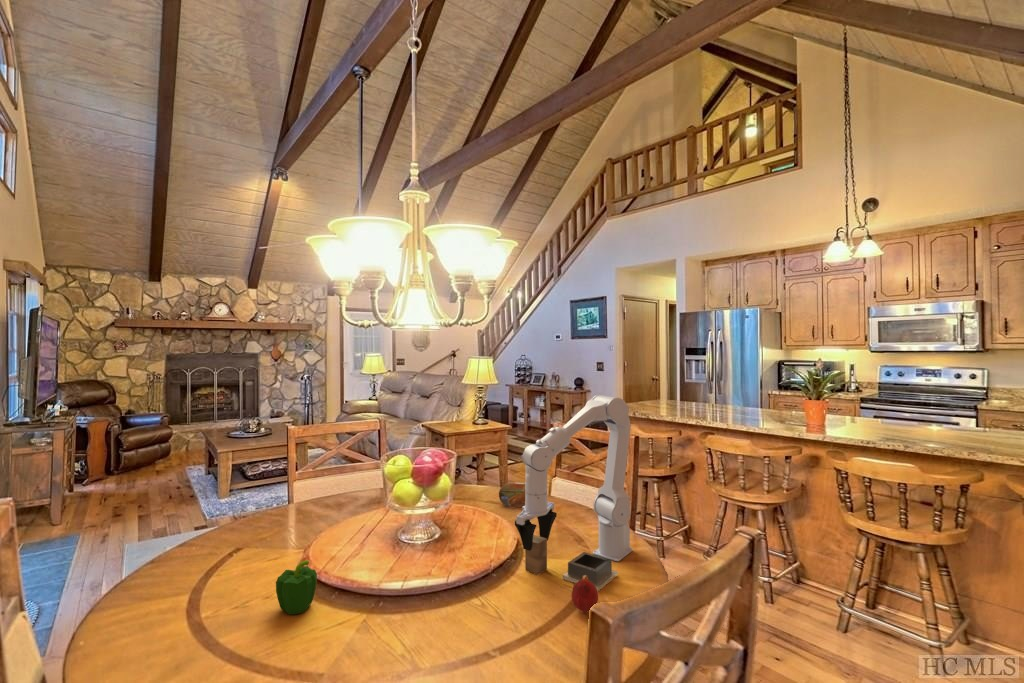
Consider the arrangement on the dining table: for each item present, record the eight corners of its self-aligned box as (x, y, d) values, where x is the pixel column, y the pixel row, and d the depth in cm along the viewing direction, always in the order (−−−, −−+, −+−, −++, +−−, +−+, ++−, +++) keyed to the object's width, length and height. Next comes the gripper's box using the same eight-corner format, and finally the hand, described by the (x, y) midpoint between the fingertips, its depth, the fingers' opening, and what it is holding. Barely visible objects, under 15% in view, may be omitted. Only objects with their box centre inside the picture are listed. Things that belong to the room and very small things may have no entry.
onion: (597, 621, 105) (597, 583, 105) (570, 618, 106) (570, 581, 106) (598, 607, 111) (598, 571, 111) (572, 604, 112) (572, 568, 112)
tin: (498, 506, 178) (498, 482, 178) (500, 503, 181) (500, 480, 181) (540, 508, 175) (540, 485, 175) (541, 505, 178) (541, 482, 178)
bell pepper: (276, 623, 104) (276, 575, 104) (275, 604, 111) (275, 560, 111) (319, 613, 108) (319, 567, 108) (315, 595, 115) (315, 553, 115)
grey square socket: (582, 564, 132) (582, 549, 132) (617, 575, 125) (617, 559, 125) (562, 578, 124) (562, 562, 124) (598, 591, 118) (598, 574, 118)
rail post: (534, 565, 131) (534, 534, 131) (546, 569, 129) (546, 538, 129) (525, 570, 128) (525, 539, 128) (538, 575, 126) (538, 543, 126)
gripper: (539, 483, 137) (539, 532, 137) (506, 495, 125) (506, 549, 125) (561, 487, 132) (560, 538, 132) (529, 501, 121) (529, 557, 121)
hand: (535, 544), depth 129 cm, fingers open, 7 cm apart
